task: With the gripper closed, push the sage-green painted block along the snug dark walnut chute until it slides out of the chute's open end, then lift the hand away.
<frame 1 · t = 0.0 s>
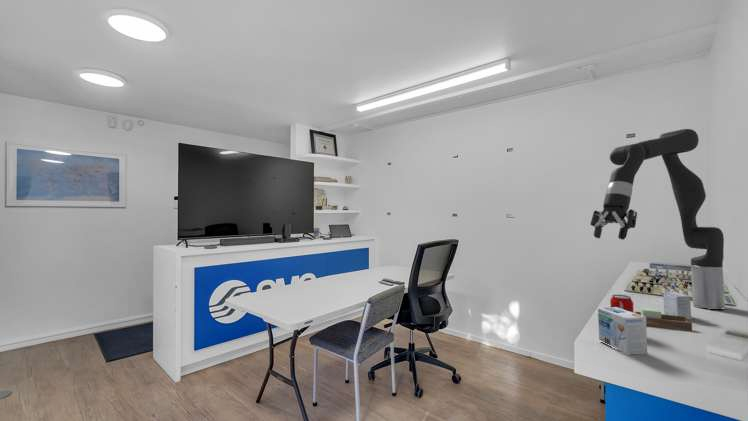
hand: (608, 238, 117), 31 cm above the table, tool tilted 20°, fingers open, 8 cm apart
sage block: (651, 323, 119), on the table
light bulb box: (622, 348, 98), on the table
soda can: (622, 332, 111), on the table
walnut chute: (661, 323, 117), on the table
medicine box: (677, 317, 125), on the table
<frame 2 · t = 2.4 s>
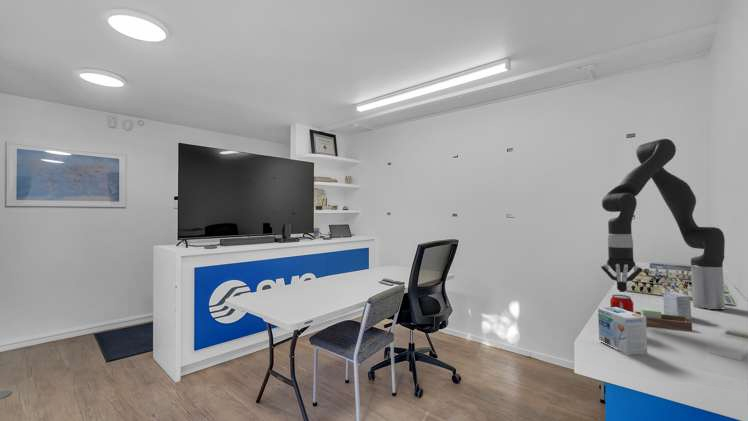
hand: (621, 291, 123), 11 cm above the table, tool pointing down, fingers closed
nothing on the table moved.
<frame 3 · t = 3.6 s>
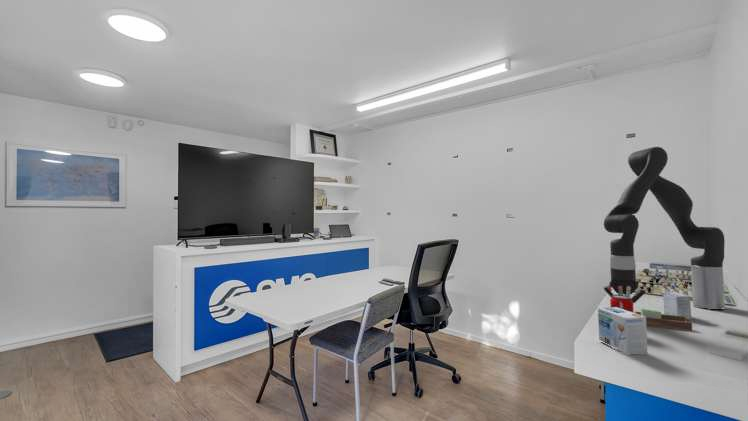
hand: (624, 313, 123), 2 cm above the table, tool pointing down, fingers closed
nothing on the table moved.
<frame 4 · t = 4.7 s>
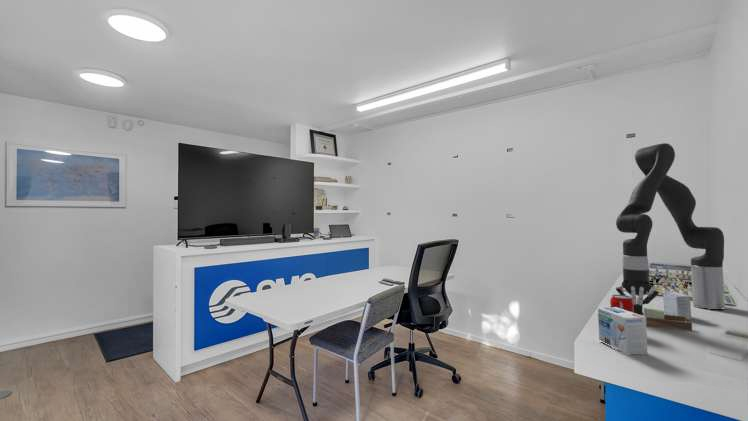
hand: (637, 314, 121), 3 cm above the table, tool pointing down, fingers closed
sage block: (653, 323, 118), on the table, touching gripper
everything else where it was.
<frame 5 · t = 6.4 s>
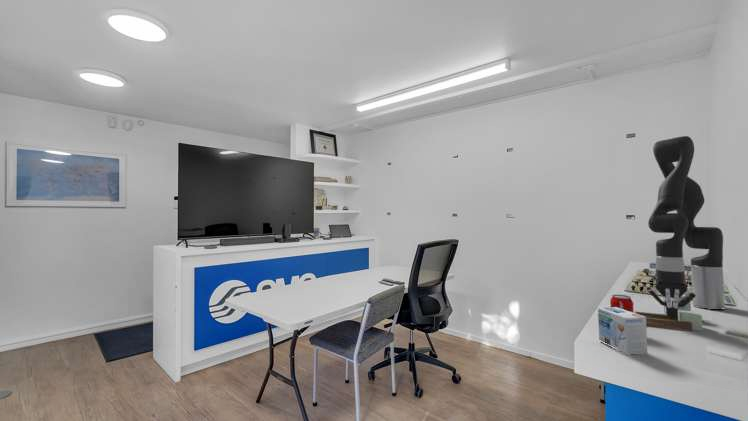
hand: (672, 317, 116), 3 cm above the table, tool pointing down, fingers closed
sage block: (690, 327, 113), on the table, touching gripper
everything else where it was.
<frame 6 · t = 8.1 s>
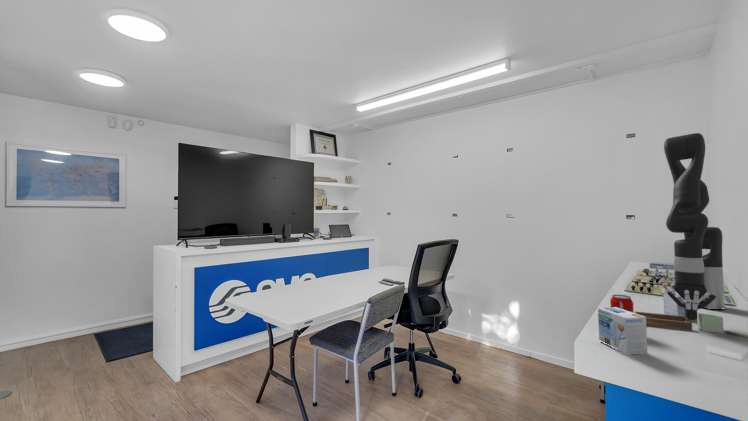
hand: (691, 319, 113), 3 cm above the table, tool pointing down, fingers closed
sage block: (710, 329, 110), on the table, touching gripper
everything else where it was.
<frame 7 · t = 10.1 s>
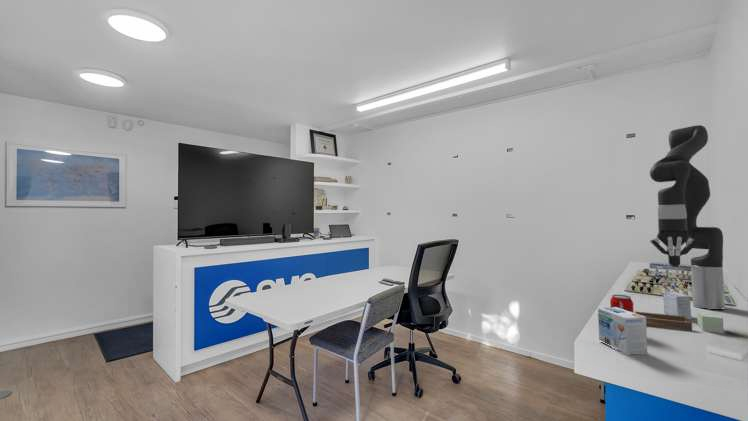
hand: (674, 266, 115), 21 cm above the table, tool pointing down, fingers closed
sage block: (710, 329, 110), on the table
everything else where it was.
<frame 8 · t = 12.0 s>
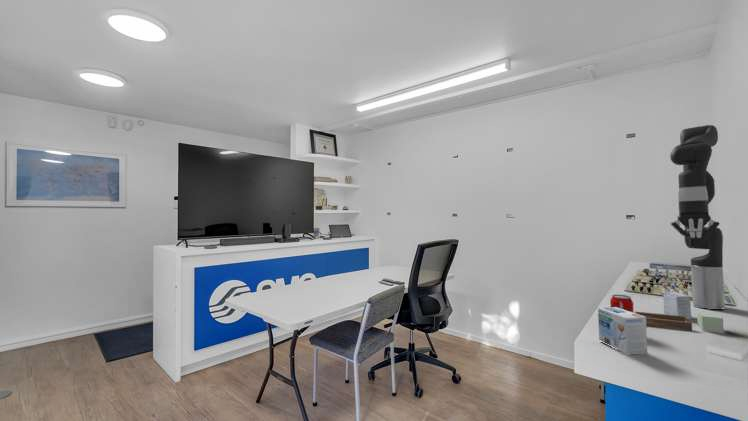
hand: (695, 248, 116), 27 cm above the table, tool pointing down, fingers closed
nothing on the table moved.
at the end: sage block inside the target area (0.5 cm from its centre), on the table; sage block tilted 0°; sage block moved 15.5 cm from its start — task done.
